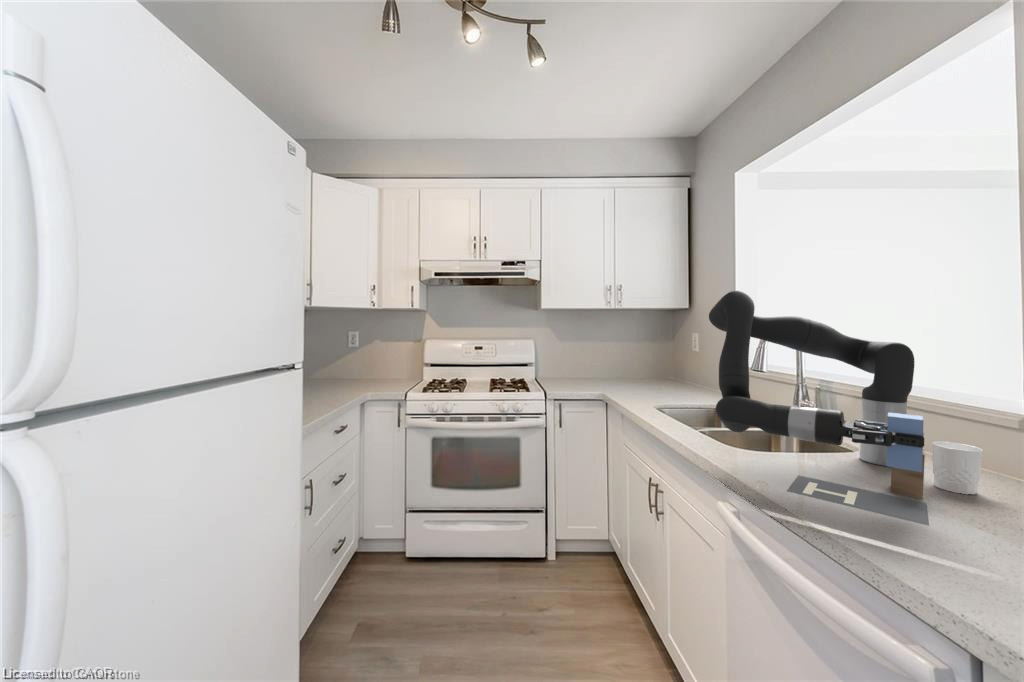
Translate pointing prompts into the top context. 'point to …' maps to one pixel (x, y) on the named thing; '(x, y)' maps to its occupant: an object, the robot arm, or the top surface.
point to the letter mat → (862, 499)
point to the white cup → (956, 467)
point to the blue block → (905, 454)
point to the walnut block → (908, 481)
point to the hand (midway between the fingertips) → (923, 438)
